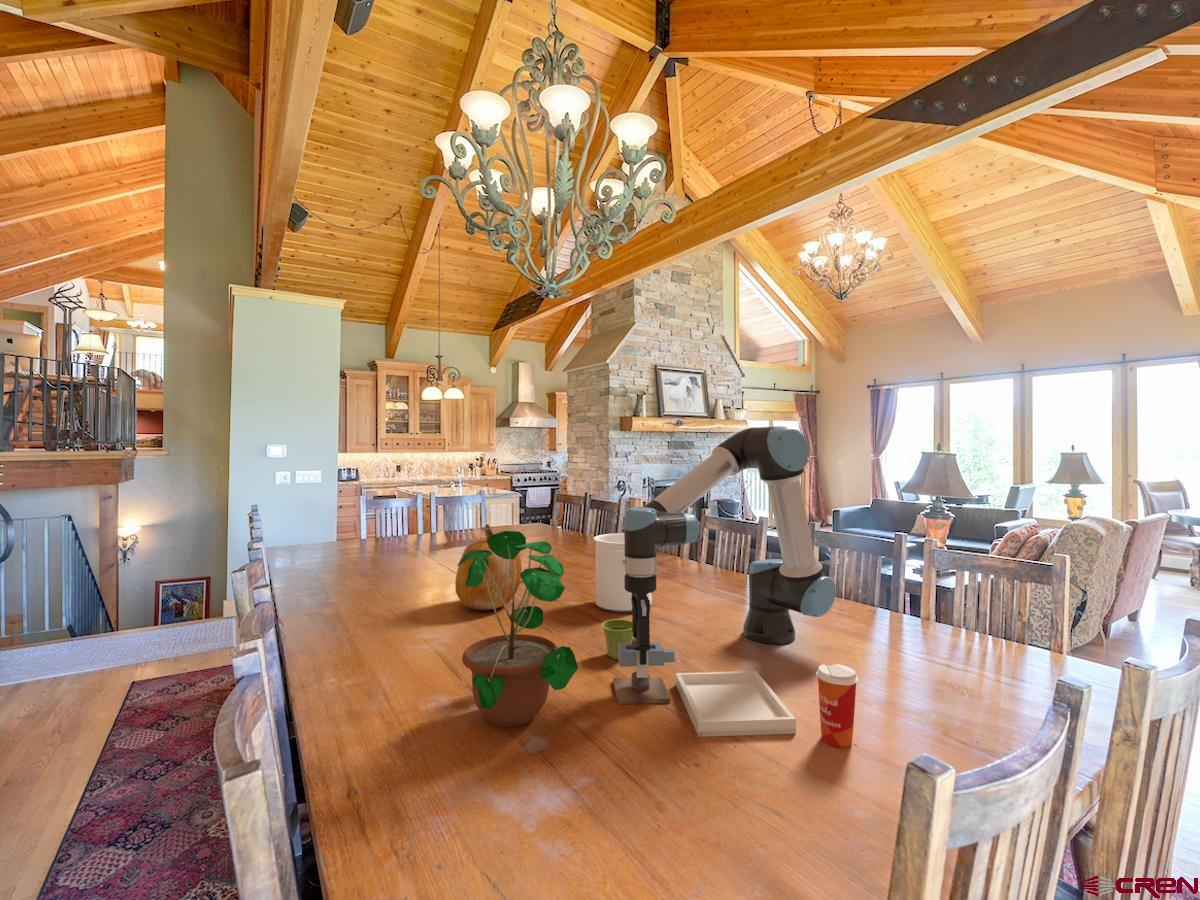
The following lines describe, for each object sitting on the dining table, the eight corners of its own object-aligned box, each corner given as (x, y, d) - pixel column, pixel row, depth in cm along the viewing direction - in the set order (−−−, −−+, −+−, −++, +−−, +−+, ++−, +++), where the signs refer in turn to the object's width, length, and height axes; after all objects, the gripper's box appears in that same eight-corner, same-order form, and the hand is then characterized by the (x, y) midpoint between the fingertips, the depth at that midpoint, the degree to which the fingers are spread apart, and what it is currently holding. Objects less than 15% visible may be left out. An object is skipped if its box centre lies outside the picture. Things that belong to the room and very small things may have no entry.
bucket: (598, 594, 219) (598, 531, 219) (654, 596, 216) (654, 532, 216) (588, 614, 194) (588, 543, 193) (651, 617, 191) (651, 544, 190)
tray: (756, 683, 138) (756, 671, 138) (796, 733, 115) (796, 719, 114) (675, 685, 137) (675, 673, 137) (698, 736, 113) (698, 721, 113)
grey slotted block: (620, 666, 131) (620, 652, 131) (618, 657, 136) (618, 643, 136) (676, 665, 131) (676, 650, 131) (671, 655, 137) (671, 641, 137)
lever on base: (661, 680, 140) (661, 631, 140) (670, 702, 128) (670, 649, 128) (613, 681, 140) (613, 632, 139) (617, 704, 128) (617, 650, 127)
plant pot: (633, 663, 151) (633, 631, 151) (598, 660, 153) (598, 628, 153) (638, 650, 160) (638, 620, 160) (605, 648, 162) (605, 618, 162)
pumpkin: (515, 617, 191) (515, 529, 191) (449, 617, 191) (448, 528, 191) (527, 596, 217) (526, 518, 217) (468, 596, 217) (467, 518, 217)
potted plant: (535, 767, 103) (534, 551, 102) (426, 725, 118) (425, 537, 117) (619, 701, 129) (619, 528, 128) (521, 674, 144) (521, 519, 143)
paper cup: (809, 731, 116) (809, 663, 115) (845, 729, 116) (845, 661, 116) (827, 752, 108) (828, 679, 108) (866, 750, 108) (866, 677, 108)
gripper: (620, 565, 143) (621, 656, 143) (628, 584, 124) (629, 689, 124) (650, 564, 143) (650, 655, 143) (662, 583, 124) (663, 688, 125)
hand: (640, 671), depth 134 cm, fingers closed on grey slotted block, 6 cm apart
